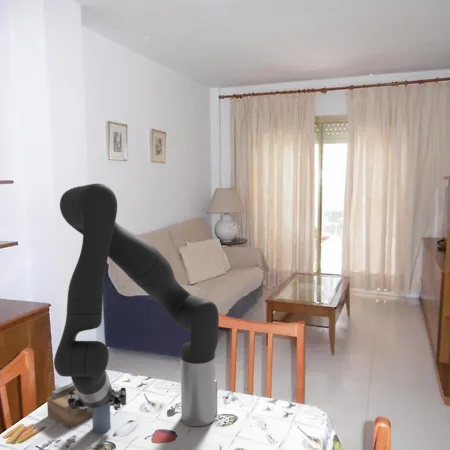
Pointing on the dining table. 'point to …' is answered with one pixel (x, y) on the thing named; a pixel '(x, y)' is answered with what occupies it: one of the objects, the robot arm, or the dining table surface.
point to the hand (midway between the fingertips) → (101, 407)
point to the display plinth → (65, 407)
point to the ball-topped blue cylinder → (101, 419)
